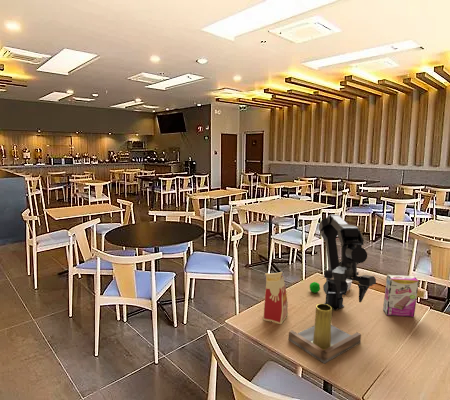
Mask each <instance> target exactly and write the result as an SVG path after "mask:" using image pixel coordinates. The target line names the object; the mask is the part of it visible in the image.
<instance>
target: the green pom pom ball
mask: <svg viewBox="0 0 450 400" xmlns="http://www.w3.org/2000/svg"><path fill="white" fill-rule="evenodd" d="M309 290H310V291H311V293H318V292H320V290H321V286H320V284H319V283H318V282H317V281H314V282H311V283H310V284H309Z"/></svg>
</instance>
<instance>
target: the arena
mask: <svg viewBox="0 0 450 400" xmlns="http://www.w3.org/2000/svg"><path fill="white" fill-rule="evenodd" d="M314 328H315V325H313V326H311V327H308V328H306V329H304V330H302V331H299V332H296V331H294V330H292V329H291V330H289V331H288V340H289V342H291V343H292V344H294V345H295V346H297V347H299V348H300V349H301V350H303V351H304V352H306V353H307V354H309V355H311V356H312V357H313V358H315V359H316V360H318V361H319V362H321V363H323V364H327V363H328V362H330V361H332V360H333V359H335V358H336V357H338V356H340V355H342V354H344V353H346V352H347V351H349V350H351V349H352V348H355V347H356V346H358V345H360V344H361V338H362V334H361V333H359V332H357V331H356V332H355V333H353V334H349V333H348V332H347V331H344V330H342V329H340V328H338V327H336V326H335V325H333V324H331V347H329V348H327V349H325V350H323V349H321V348H320V347H318V346H317V345H315V344H313V338H314Z"/></svg>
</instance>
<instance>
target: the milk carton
mask: <svg viewBox="0 0 450 400" xmlns="http://www.w3.org/2000/svg"><path fill="white" fill-rule="evenodd" d="M264 276H265V282H266V283H265V293H264V304H263V305H264V306H263V318H262V319H263V321H267V322H271V321H272V323H274V322H275V323H274V324H279V325H282V324H283V322H285V320H286V319H287V317H288V314H289V308H288V307H289V306H288V305H289V304H288V295H287V289H286V283H285V278H284V275H283V271H280V272H274V273H264ZM286 316H287V317H286Z"/></svg>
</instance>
